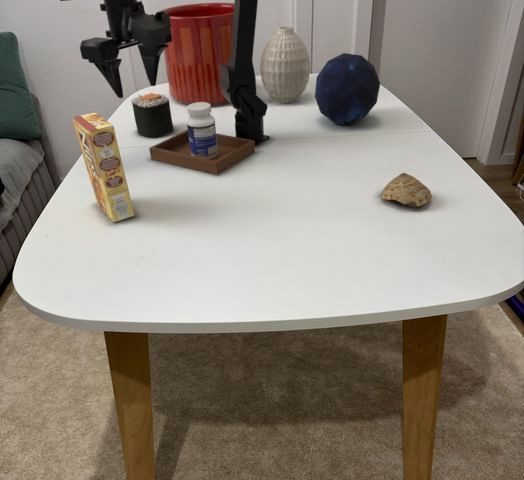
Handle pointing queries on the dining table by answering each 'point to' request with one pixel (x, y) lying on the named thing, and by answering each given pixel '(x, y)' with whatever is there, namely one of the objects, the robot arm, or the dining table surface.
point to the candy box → (104, 165)
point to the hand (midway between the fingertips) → (137, 91)
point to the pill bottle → (202, 131)
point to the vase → (285, 66)
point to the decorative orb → (347, 88)
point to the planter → (198, 51)
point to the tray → (180, 155)
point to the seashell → (406, 191)
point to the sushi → (152, 115)
